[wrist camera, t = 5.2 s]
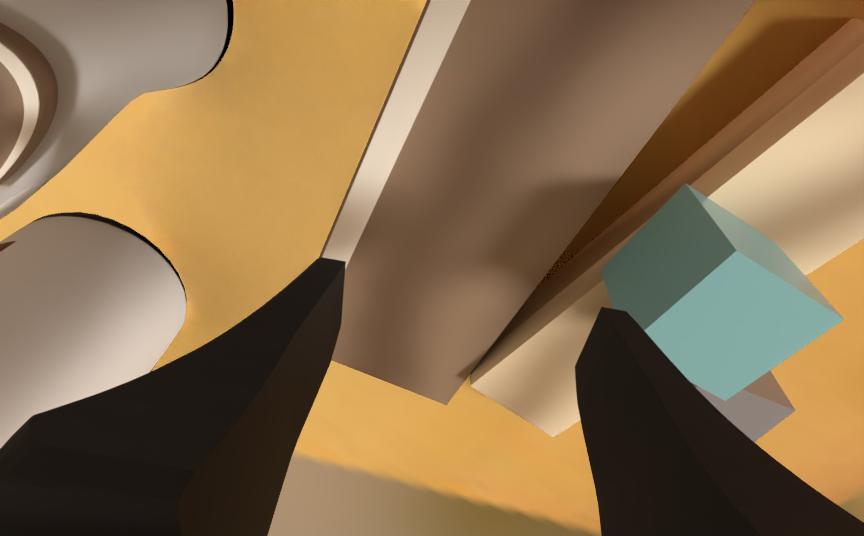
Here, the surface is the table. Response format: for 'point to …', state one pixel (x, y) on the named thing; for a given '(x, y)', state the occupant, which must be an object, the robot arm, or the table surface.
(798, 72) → the tan tray
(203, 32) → the silver metal tumbler
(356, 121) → the table surface
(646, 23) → the dock
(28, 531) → the robot arm
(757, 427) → the grey cube
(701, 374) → the teal cube
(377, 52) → the table surface
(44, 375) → the milk bottle
